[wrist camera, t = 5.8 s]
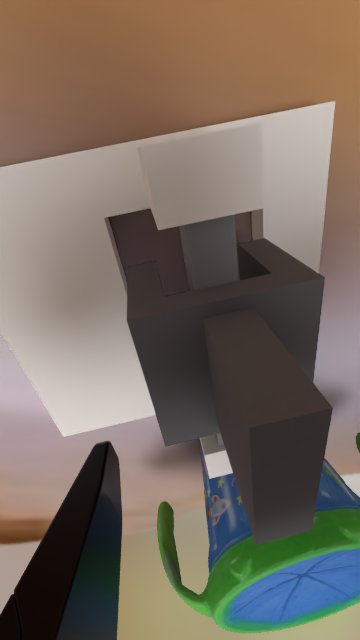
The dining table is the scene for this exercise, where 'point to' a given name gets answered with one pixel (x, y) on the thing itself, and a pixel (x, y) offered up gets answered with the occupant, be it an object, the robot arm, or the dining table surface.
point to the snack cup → (272, 559)
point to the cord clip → (242, 377)
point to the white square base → (168, 211)
